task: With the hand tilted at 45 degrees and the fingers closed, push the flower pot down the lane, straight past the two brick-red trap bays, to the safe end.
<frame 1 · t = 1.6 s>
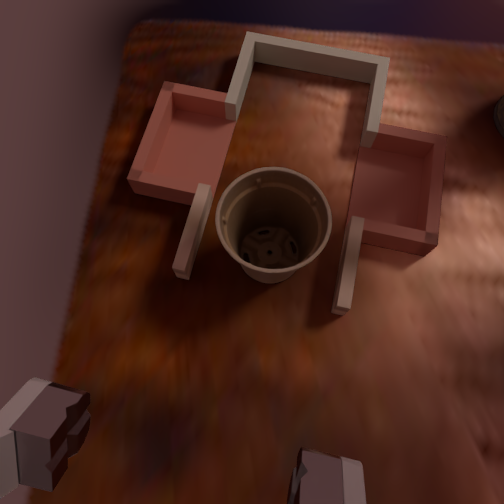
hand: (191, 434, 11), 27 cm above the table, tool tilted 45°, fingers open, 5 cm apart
lane: (269, 248, 40), on the table
flower pot: (268, 254, 42), on the table
trap bays: (288, 172, 45), on the table
safe end: (304, 102, 48), on the table
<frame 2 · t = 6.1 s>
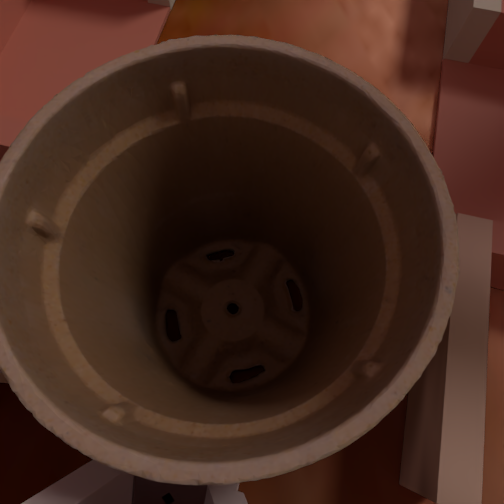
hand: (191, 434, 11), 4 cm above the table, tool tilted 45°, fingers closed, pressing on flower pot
lane: (230, 300, 15), on the table
flower pot: (231, 311, 16), on the table, touching gripper
trap bays: (282, 114, 19), on the table
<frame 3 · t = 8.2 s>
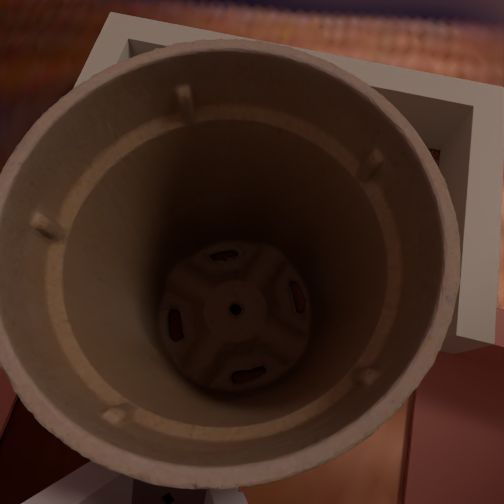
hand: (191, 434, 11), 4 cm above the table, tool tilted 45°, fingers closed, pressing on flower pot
flower pot: (234, 311, 17), on the table, touching gripper
trap bays: (205, 439, 15), on the table
safe end: (266, 204, 18), on the table
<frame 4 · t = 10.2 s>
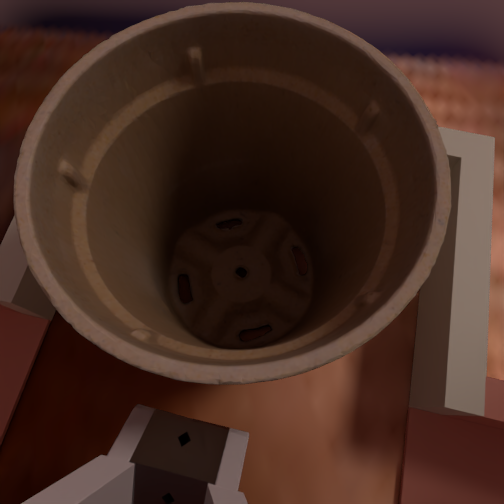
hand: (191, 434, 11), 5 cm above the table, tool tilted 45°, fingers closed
flower pot: (240, 276, 17), on the table
safe end: (251, 254, 17), on the table
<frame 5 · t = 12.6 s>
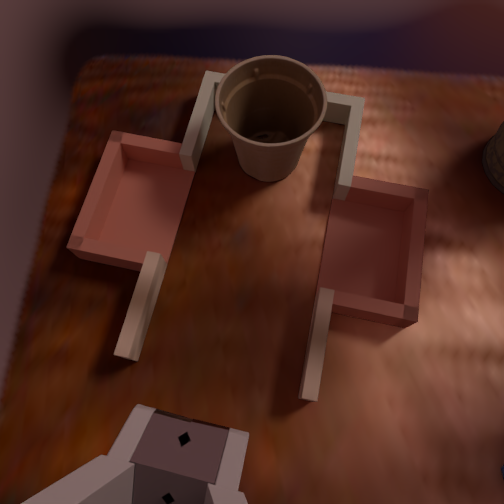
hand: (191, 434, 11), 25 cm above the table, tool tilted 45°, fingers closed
lane: (228, 324, 36), on the table
flower pot: (267, 156, 43), on the table
trap bays: (251, 230, 40), on the table
safe end: (271, 148, 43), on the table
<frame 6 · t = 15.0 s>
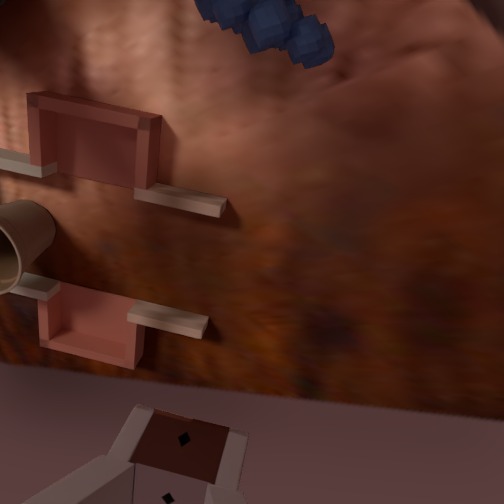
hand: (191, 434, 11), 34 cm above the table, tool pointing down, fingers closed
lane: (174, 262, 47), on the table
flower pot: (33, 224, 50), on the table
grapes: (277, 17, 37), on the table
trap bays: (100, 239, 49), on the table
safe end: (23, 221, 49), on the table
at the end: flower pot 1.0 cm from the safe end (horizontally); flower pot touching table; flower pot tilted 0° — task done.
